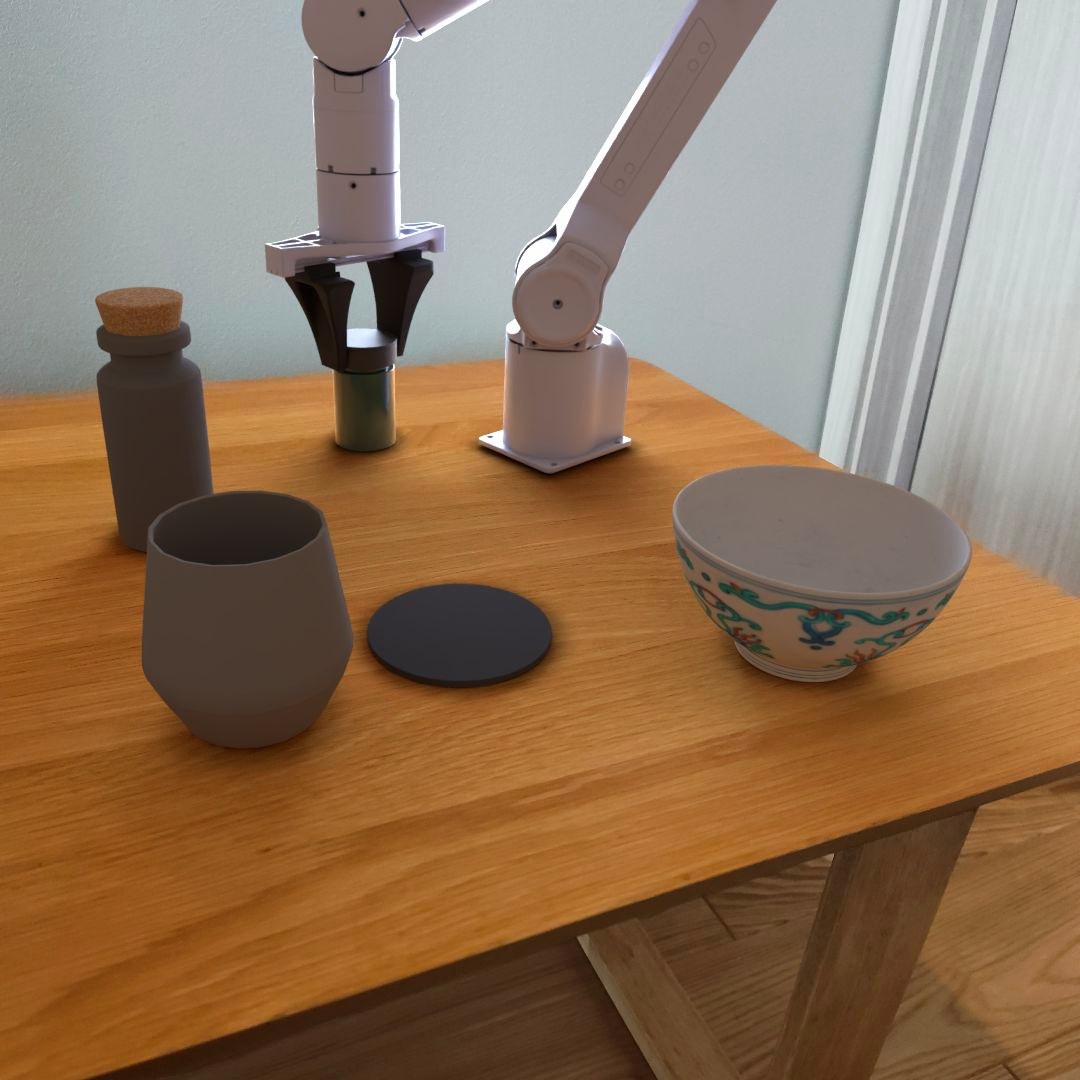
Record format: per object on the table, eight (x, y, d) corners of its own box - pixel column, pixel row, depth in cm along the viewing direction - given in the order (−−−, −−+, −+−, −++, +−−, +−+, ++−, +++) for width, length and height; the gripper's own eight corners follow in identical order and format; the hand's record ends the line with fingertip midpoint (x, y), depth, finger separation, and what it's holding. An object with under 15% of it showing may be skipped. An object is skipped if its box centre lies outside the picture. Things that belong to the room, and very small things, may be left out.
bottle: (189, 559, 64) (160, 314, 57) (100, 547, 65) (61, 303, 58) (233, 519, 69) (211, 289, 62) (150, 507, 70) (120, 279, 63)
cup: (191, 653, 55) (169, 476, 50) (370, 663, 55) (365, 487, 50) (120, 771, 46) (86, 571, 42) (333, 784, 46) (322, 584, 42)
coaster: (468, 572, 64) (468, 566, 64) (589, 639, 58) (590, 633, 58) (329, 629, 58) (329, 623, 57) (449, 712, 51) (449, 705, 51)
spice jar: (370, 425, 85) (368, 333, 82) (407, 441, 82) (406, 347, 79) (323, 438, 82) (318, 344, 79) (360, 456, 79) (357, 359, 76)
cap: (368, 375, 76) (367, 352, 75) (314, 361, 78) (313, 339, 77) (410, 358, 80) (410, 336, 79) (357, 346, 82) (357, 324, 81)
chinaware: (994, 722, 53) (1034, 587, 49) (705, 742, 50) (725, 601, 47) (864, 576, 66) (888, 461, 62) (630, 586, 63) (641, 467, 60)
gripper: (401, 155, 80) (403, 331, 86) (233, 168, 71) (249, 365, 77) (465, 167, 76) (462, 351, 82) (295, 183, 66) (307, 390, 73)
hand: (363, 360), depth 79 cm, fingers closed on cap, 5 cm apart
